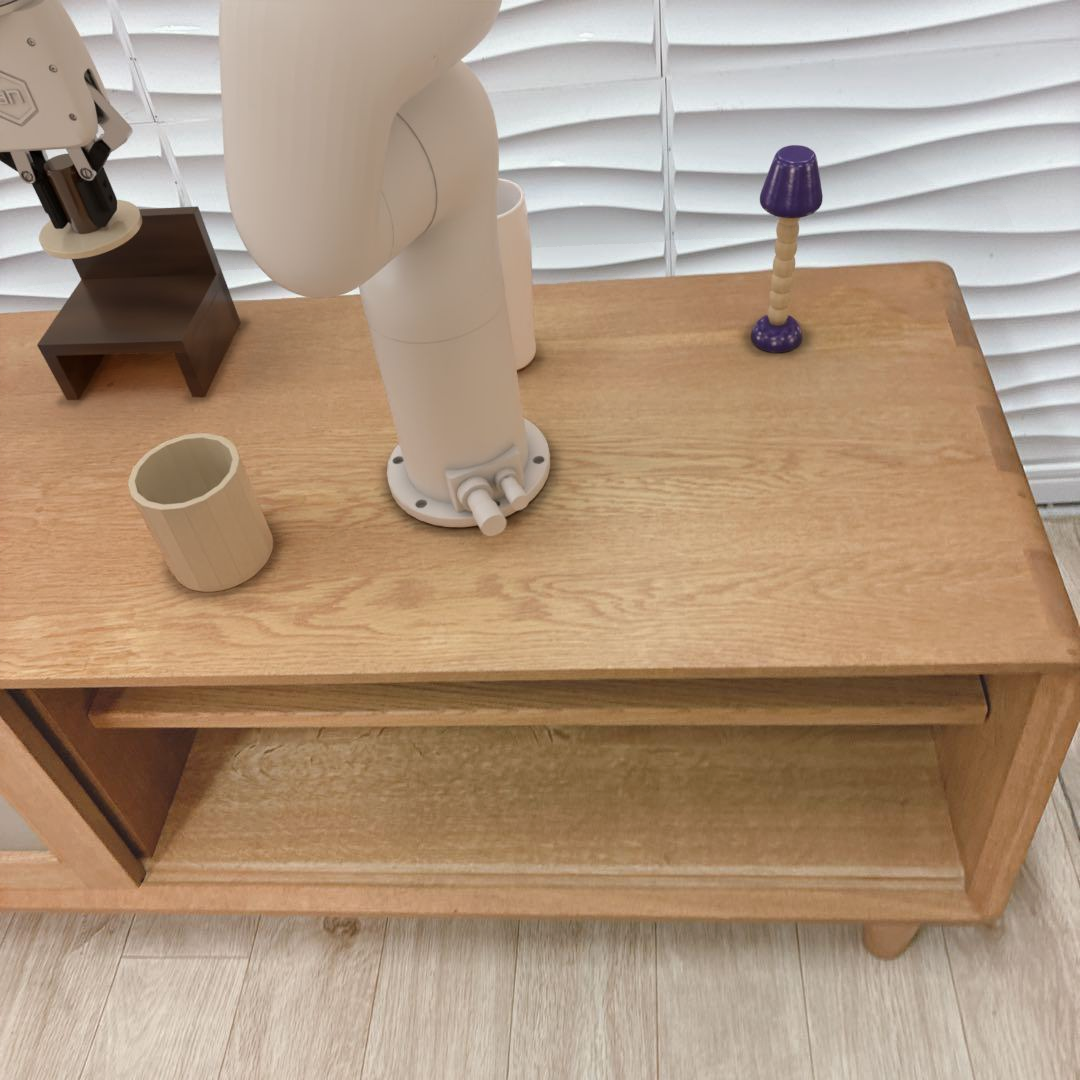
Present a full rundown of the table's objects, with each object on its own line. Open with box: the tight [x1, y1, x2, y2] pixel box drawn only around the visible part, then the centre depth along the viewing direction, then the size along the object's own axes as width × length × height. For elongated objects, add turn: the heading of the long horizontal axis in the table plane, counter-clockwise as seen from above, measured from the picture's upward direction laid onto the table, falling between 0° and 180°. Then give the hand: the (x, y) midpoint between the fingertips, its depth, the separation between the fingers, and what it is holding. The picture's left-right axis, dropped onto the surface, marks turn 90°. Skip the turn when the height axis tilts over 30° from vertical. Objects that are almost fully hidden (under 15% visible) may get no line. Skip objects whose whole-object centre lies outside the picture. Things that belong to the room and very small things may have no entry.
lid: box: [38, 153, 142, 260], centre depth 86 cm, size 8×8×7 cm
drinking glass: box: [497, 177, 537, 371], centre depth 88 cm, size 7×7×15 cm
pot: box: [127, 432, 274, 593], centre depth 77 cm, size 8×8×8 cm
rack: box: [36, 206, 241, 401], centre depth 94 cm, size 11×13×12 cm
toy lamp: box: [750, 144, 823, 353], centre depth 85 cm, size 5×5×17 cm
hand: (86, 217), depth 87 cm, fingers closed on lid, 2 cm apart
